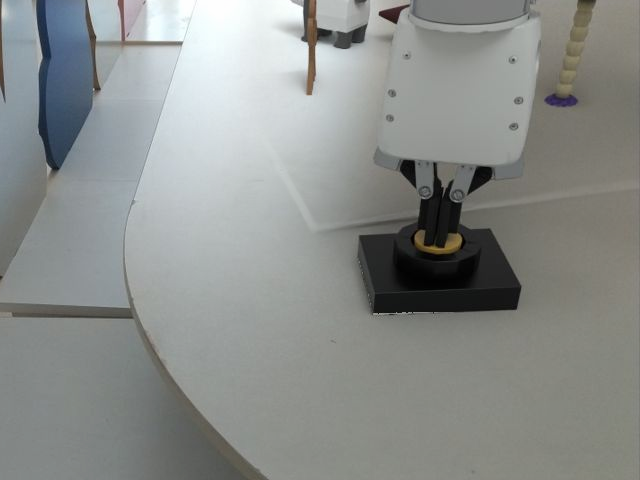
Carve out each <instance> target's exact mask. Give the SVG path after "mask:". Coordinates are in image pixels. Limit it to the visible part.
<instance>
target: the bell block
mask: <svg viewBox="0 0 640 480" xmlns="http://www.w3.org/2000/svg"><path fill="white" fill-rule="evenodd" d="M417 226H418V220H417V221H415V222H411V223H409V224H407V225H405V226H402V227H401V228H400V230H399V231H398V232H393V233H374V234H359V235H358V242H357V243H358V245H357V259H358V258H359V260H358V262H359V261H360V264H359V266H360V265H361V268H360V270H361V269H362V272H363V275H362V277H363V276H364V279H363V281H364V280H365V283H366V287H367V291H368V294H369V299H370V302H369V304H370V303H371V306H370V308H371V307H372V310H371V312H372V311H373V313H378V314H379V313H396V312H397V313H402V312H406V313H408V312H412V313H413V312H433V313H432V314H435V313H434V312H454V313H473V312H474V313H477V312H493V311H494V312H497V311H499V312H501V311H517V310H518V307H519V306H518V305H519V302H520V298H521V297H520V296H521V292H522V288H523V287H522V285H521V283H520V280H519V279H518V277H517V275H516V273H515V271H514V269H513V268H512V266H511V264H510V262H509V260H508V258H507V256H506V255H505V252H504V251H503V249H502V247H501V245H500V244H499V242H498V240H497V238H496V235H495V234H494V232H493V230H492V229H491V228H490V227H489V228H487V227H485V228H470V227H467V226H466V225H464V224H462V223H460V222H459V227H458V232H457V233H459V234H460V236H461V238H462V243H461V249H460V250H458V251H455V252H453V253H448V254H434V253H430V252H425V251H421V250H420V249H418V248H416V247H415V246H414V238H415V235H416V233H417V232H418V231H420V230H418V229H417ZM362 272H361V273H362ZM365 283H364V284H365ZM366 287H365V288H366ZM367 291H366V292H367ZM369 299H368V300H369Z"/></svg>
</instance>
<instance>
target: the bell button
mask: <svg viewBox="0 0 640 480" xmlns="http://www.w3.org/2000/svg"><path fill="white" fill-rule="evenodd" d="M436 236H437V234H436ZM424 237H425V230H420V231H418V232H417V233H416V235H415V238H414V246H415V247H416V248H418V249H420V250H421V251H425V252H430V253H434V254H448V253H453V252H455V251H458V250H460V249H461V243H462V238H461V236H460V234H459V233H457V234H452V233H448V237H447V241H446V244H445V248H441V247H438V245H435V243H436V237H435V241H434V244H433V245H431V246H425V245H424Z"/></svg>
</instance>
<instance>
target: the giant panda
mask: <svg viewBox="0 0 640 480" xmlns="http://www.w3.org/2000/svg"><path fill="white" fill-rule="evenodd" d="M290 2H291V3H293V4H295V5H297V6H299V7H302V19H303V36H301V38H300V40H301V41H303V42H307V24H308V18H309V3H310V0H290ZM370 14H371V0H316V20H317V41H318V40H319V35H320V36H326V37H328V36H331V35H332V34H333V31H334V32H336V35H337V39H336V41H335V42H334V43H333V47H336V48H340V49H349V48H351V47H352V42H353V43H362V42H364V41H365V36H366V32H367V28H368V25H369V20H370V16H371V15H370Z"/></svg>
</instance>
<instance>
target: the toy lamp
mask: <svg viewBox="0 0 640 480" xmlns="http://www.w3.org/2000/svg"><path fill="white" fill-rule="evenodd" d="M596 2H597V0H577V2H576V8H577V9H576V11H575V12H574V14H573V25H572V26H571V28H570V31H569V40H568V42H567V44H566V45H565V53H566V54H565V55H564V56H563V59H562V63H561V64H562V67H561V70H560V71H559V74H558V83H557V84H556V86H555V89H554V90H555V93H552V94H550V95H549V94H548V96H546V97H545V98H544V99H543V102H544V103H545V105H546V104H547V105H549V106H551V107H557V108H568V107H569V108H571V107H574V106H577V105H578V104H579V100H578V98H577V97H576V96H575V95H572V92H573V88H574V81H575V80H576V78H577V73H578V70H577V69H578V67H579V66H580V65H581V60H582V58H581V54H582V53H583V51H584V49H585V44H586V43H585V40H586V38H587V36H588V34H589V24H590V23H591V21H592V18H593V9H594V8H595V6H596Z"/></svg>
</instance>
